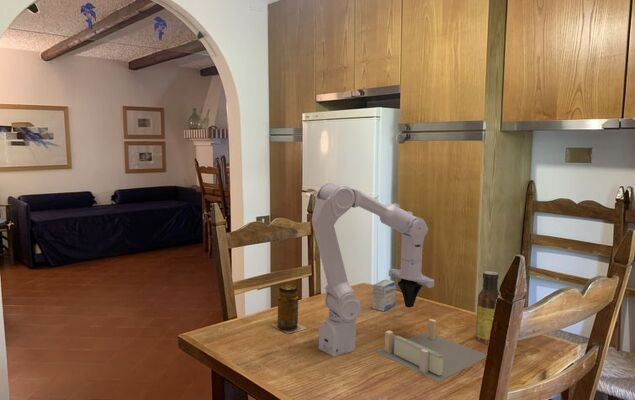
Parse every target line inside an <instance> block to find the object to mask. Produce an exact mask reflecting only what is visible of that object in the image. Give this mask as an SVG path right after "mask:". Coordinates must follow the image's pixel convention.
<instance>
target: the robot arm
mask: <svg viewBox="0 0 635 400" xmlns="http://www.w3.org/2000/svg"><path fill="white" fill-rule="evenodd" d="M314 198H315V199H314V200H315V204H314V207H313V212H312V217H311V225H312V229H313V233H314V236H315V241H316V243H317V248H318V251H319V256H320V259H321V263H322V266H323V271H324V274H325V279H326V283H327V285H326V286H325V287H324V289H325V299H324V303H325V306H326V307H327V308H328V310H329V311H328V317H327V319H326V320H324V321H322V322H321V323H320V325H319V328H318V349H319V350H320V351H322V352H324V353H326V354H328V355H330V356H332V357H336V356H339V355H341V354H347V353H351V352H353V351H355V349H356V333H357V330H356V329H357V328H356V327H357V318H358V317H359V316H360V314H361V311H362V305H361V302H360V301H359V299H358V298H357V297H356V294H355V291H354V289H353V288H352V286H351V285H350V283H349V280H348V277H347V273H346V269H345V264H344V261H343V256H342V252H341V248H340V245H339V240H338V236H337V231H336V228H335V224H336V222H337V221H338V220H339V218H341V217H342V216H343V215H344V214H346V213H347V212H348V211H349V210H350V209H351V208H354V209H355V208H357V207H359V208H361V209H363V210H364V211H365V210H366V211H368V212H370V213H372V214H374V215H376V216H379V221H380V223H381V224H384V225H386V226H388V227H389V228H391V229H394V230H396V231H397V232H399V233H400V234H401V249H400V251H401V252H400V269H398V268H397V269H396V268H390V269H388V277H395V278H398V279H400V280H399V281H397V285H398V288H399V289H400V291H401V294H402V296H403V297H402V298H403V301H404V302H403V303H404V305H405V307H406V308H412V307H414V305H415V302H416V299H417V297H418V294H419V292H420V290H421V289H422V287H423V286H424V287H426V288H427V289H431V288H434V287H435V279H432V278H430V277H428V276H426V275H424V274H423V273H422V267H423V266H422V263H423V248H424V247H423V245H424V244H423V243H424V242H425V236H427V233H428V231H429V227H428V226H427V223H426V222H425V220H424V219H423V218H421V217H419V216H414V214H413V212H412V211H409V210H408V211H406V210H405V209H402V208H401V205H400V204H398V203H388V204H383V203H381V202H379V200H378V201H377V200H376V199H374V198H373V197H371V196H370V195H367V194H366V193H364V192H362V191H360V190H357V189H356V188H355V189H354V188H351V187H350V186H348V185H339V184H335V183H331V182H328V183H325V184H323V185H321V186H320V188H319V190H318V191H317V192H316V194H315V195H314Z"/></svg>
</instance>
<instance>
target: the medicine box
mask: <svg viewBox="0 0 635 400" xmlns="http://www.w3.org/2000/svg"><path fill="white" fill-rule="evenodd" d="M396 285H397V284H396V281H394V280H391V279H383V280H381V281H378V282H377V283H374V284H373V287H372V309H373V310H376V311H380V312H386V311H388V310H390V309H391V308H393V307H395V305H396Z"/></svg>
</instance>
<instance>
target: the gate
mask: <svg viewBox="0 0 635 400" xmlns="http://www.w3.org/2000/svg"><path fill="white" fill-rule="evenodd" d="M422 349H425V350H428V351H429V362H428V371H430V372H432V373H435V374H437V375H441V374H442V368H443V355H442V354H439V353H437V352H435V351H432V350H430V349H428V348H425V347H423V346H421V345H419V344H416V343H414V342H412V341H409V340H407V338H404V337H403V336H400V335H396V334H394V333H393V334H392V348H391V352H392V353H394V354H395V355H397V356H399V357H401V358H403V359H405V360H408V361H410V362H412V363H414V364H416V365H418V366H420V350H422Z"/></svg>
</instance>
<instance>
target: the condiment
mask: <svg viewBox="0 0 635 400" xmlns="http://www.w3.org/2000/svg"><path fill="white" fill-rule="evenodd" d="M278 290H279V291H278V294H279V295H278V296H277V323H273V324H271V326H272V327H273V328H275V329H277V330H279V331H282V332H283V333H285V334H292V333H296V332H300V331H304V330H307V329H308V328H307V327H305V326H304V325H302V324H299V323H298V322H299V321H298V320H299V296H298V287H297V286H295V285H289V284H286V285H281V286H280V287H279V289H278Z"/></svg>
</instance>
